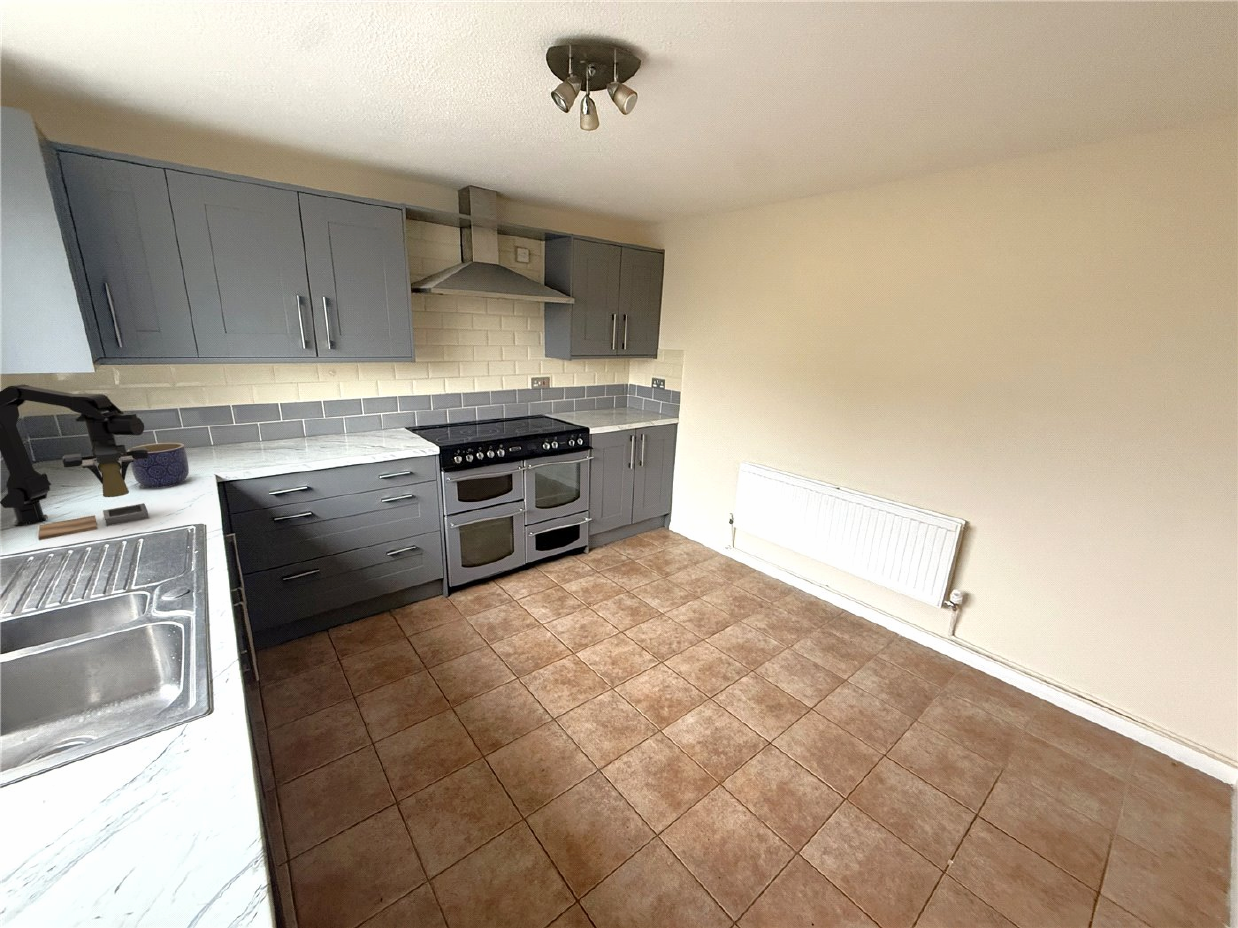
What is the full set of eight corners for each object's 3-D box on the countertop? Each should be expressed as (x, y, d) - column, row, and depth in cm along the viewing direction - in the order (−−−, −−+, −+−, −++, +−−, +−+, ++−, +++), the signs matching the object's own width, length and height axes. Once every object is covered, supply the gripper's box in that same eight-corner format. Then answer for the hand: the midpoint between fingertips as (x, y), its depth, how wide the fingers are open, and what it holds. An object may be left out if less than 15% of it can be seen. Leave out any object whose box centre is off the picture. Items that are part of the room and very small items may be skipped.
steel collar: (104, 517, 162) (102, 510, 161) (146, 509, 169) (144, 503, 168) (106, 526, 155) (104, 519, 155) (149, 518, 163) (147, 511, 162)
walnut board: (40, 527, 153) (39, 524, 152) (95, 518, 161) (95, 515, 161) (39, 540, 145) (38, 536, 145) (97, 529, 153) (96, 526, 153)
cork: (98, 497, 156) (89, 464, 153) (111, 491, 161) (103, 459, 158) (121, 496, 157) (113, 463, 154) (133, 490, 163) (126, 458, 160)
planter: (126, 492, 184) (117, 454, 180) (148, 479, 199) (139, 443, 195) (182, 488, 190) (173, 451, 186) (198, 476, 205) (191, 441, 201)
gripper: (57, 444, 142) (71, 495, 146) (145, 436, 155) (155, 482, 160) (57, 437, 149) (70, 485, 153) (141, 429, 163) (151, 474, 167)
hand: (113, 482), depth 158 cm, fingers closed on cork, 4 cm apart
